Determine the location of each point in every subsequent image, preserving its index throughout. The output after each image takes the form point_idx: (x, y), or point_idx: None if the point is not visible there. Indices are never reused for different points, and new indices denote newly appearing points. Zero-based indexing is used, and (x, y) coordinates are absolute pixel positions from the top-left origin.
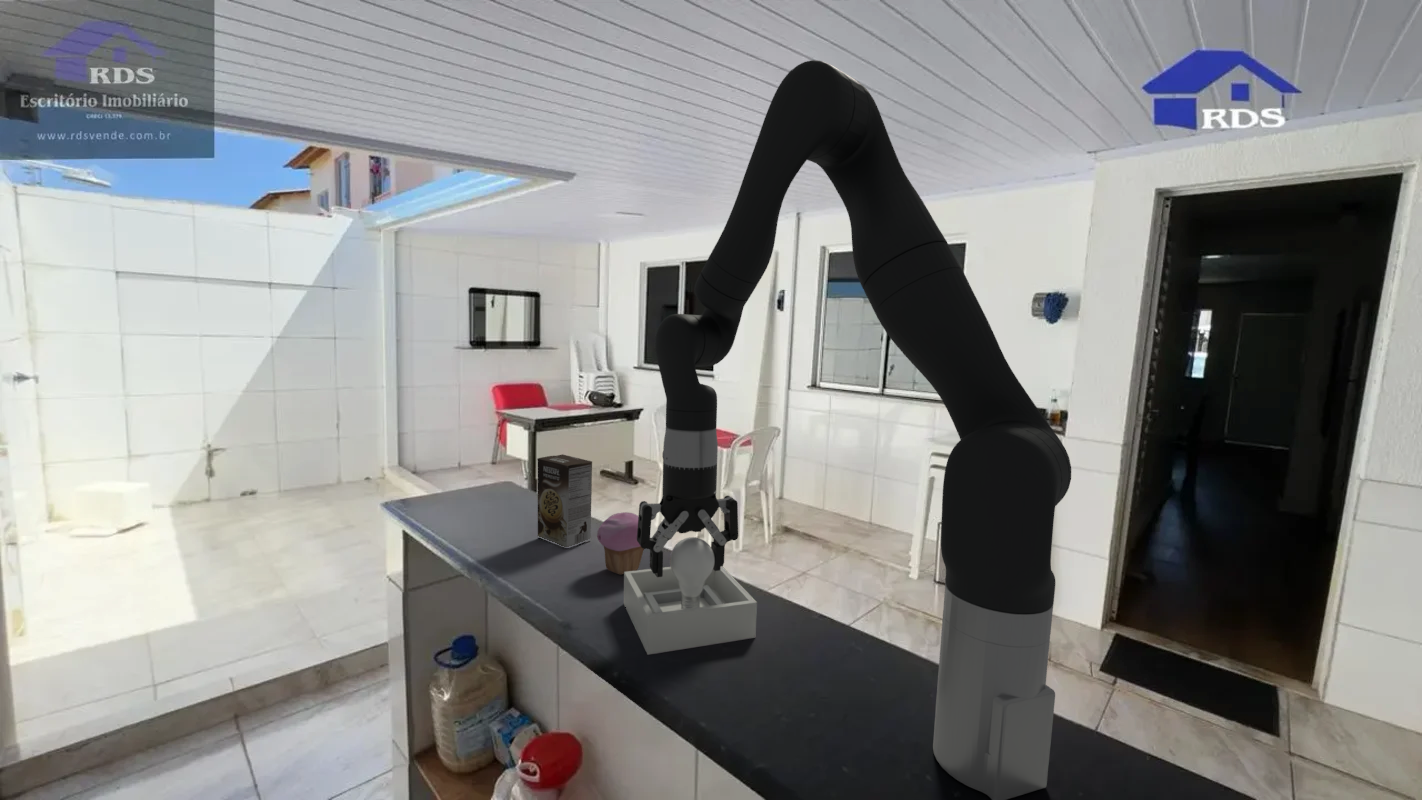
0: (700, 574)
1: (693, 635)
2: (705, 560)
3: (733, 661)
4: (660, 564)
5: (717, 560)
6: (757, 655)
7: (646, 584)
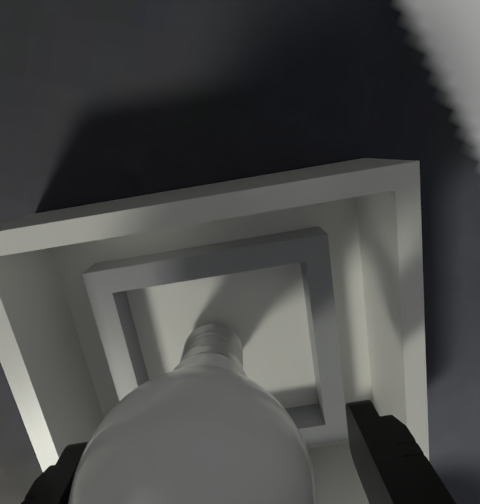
0: (170, 375)
1: (228, 183)
2: (126, 435)
3: (119, 86)
4: (380, 443)
5: (62, 481)
6: (41, 110)
7: (338, 478)
